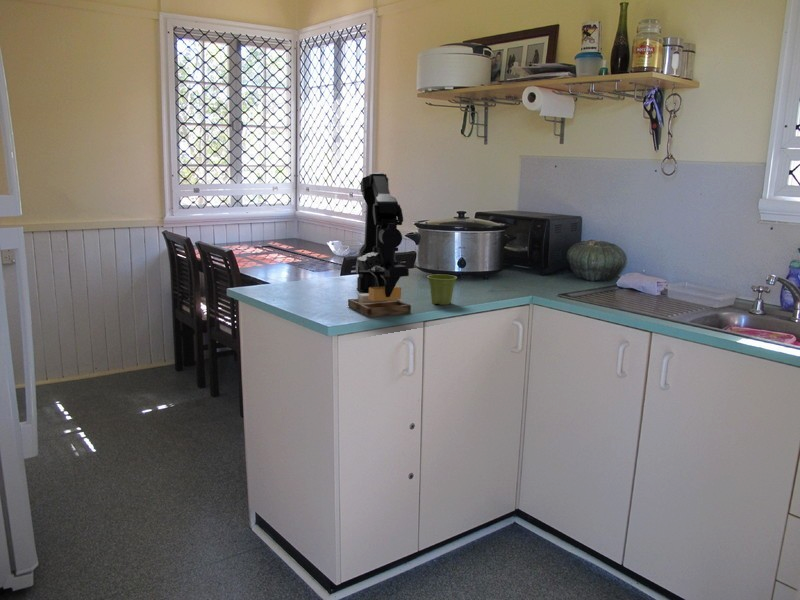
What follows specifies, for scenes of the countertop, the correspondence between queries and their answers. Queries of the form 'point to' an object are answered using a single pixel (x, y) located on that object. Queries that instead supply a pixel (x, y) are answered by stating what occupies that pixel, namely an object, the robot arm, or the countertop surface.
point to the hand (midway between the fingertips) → (384, 295)
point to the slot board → (380, 307)
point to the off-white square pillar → (364, 298)
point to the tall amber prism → (380, 295)
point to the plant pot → (441, 288)
